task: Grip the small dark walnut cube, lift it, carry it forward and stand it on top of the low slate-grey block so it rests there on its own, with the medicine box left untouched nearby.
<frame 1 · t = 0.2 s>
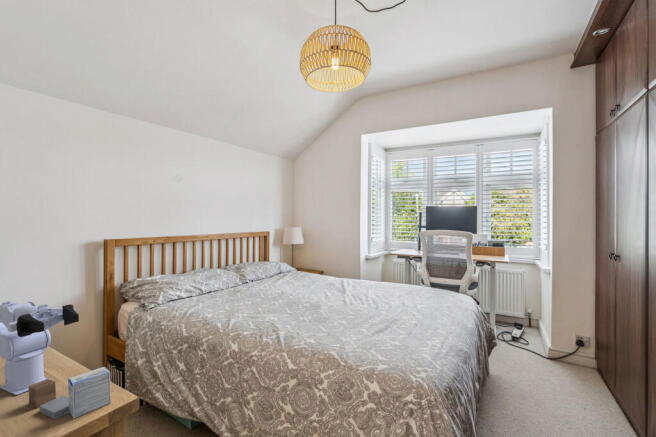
hand: (60, 322, 83), 21 cm above the table, tool horizontal, fingers open, 7 cm apart
slate block: (59, 411, 80), on the table
walnut cube: (42, 402, 83), on the table
medicine box: (90, 408, 81), on the table
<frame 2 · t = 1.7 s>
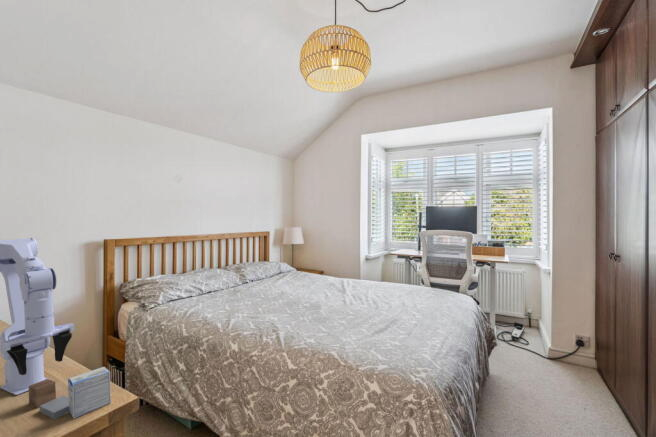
hand: (41, 367, 83), 9 cm above the table, tool pointing down, fingers open, 7 cm apart
nothing on the table moved.
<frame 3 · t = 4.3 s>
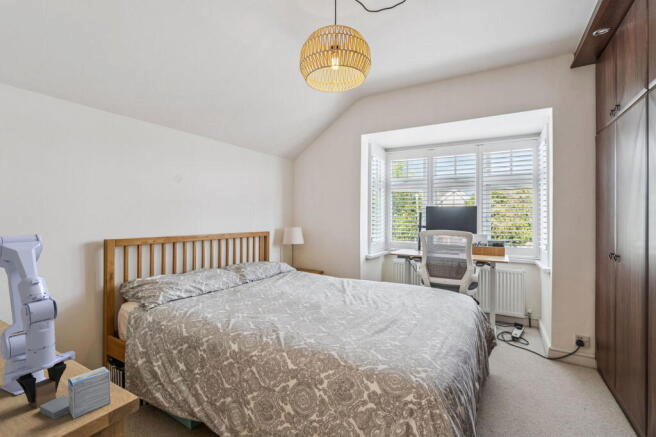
hand: (42, 397, 83), 1 cm above the table, tool pointing down, fingers closed on walnut cube, 4 cm apart
walnut cube: (42, 402, 83), on the table, touching gripper
everything else where it was.
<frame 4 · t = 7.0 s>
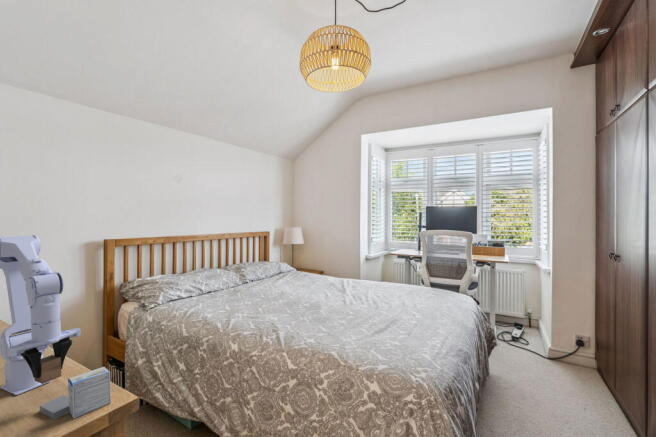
hand: (48, 372, 82), 8 cm above the table, tool pointing down, fingers closed on walnut cube, 4 cm apart
walnut cube: (48, 378, 82), point 7 cm above the table, touching gripper
everything else where it was.
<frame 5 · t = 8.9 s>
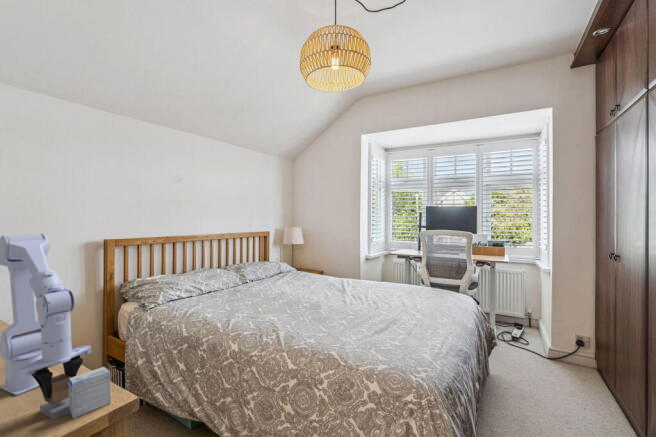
hand: (58, 392, 80), 4 cm above the table, tool pointing down, fingers closed on walnut cube, 4 cm apart
walnut cube: (58, 398, 80), point 3 cm above the table, touching gripper
everything else where it was.
when the fingers open (4 cm above the table, at t = 9.8 s): walnut cube drops 1 cm, resting on slate block.
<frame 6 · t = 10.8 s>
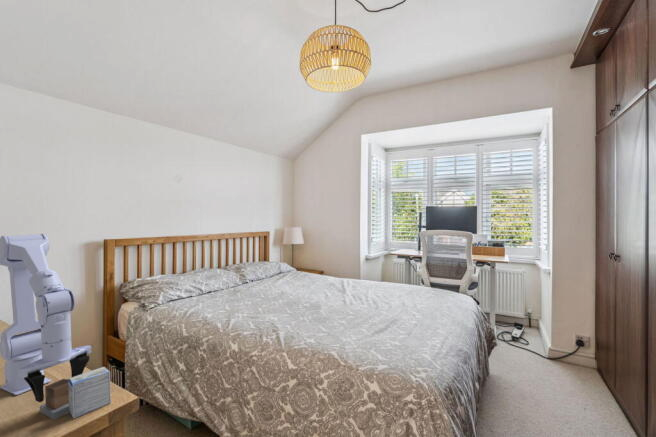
hand: (58, 392, 80), 4 cm above the table, tool pointing down, fingers open, 7 cm apart
slate block: (59, 411, 80), on the table, touching walnut cube
walnut cube: (59, 403, 80), point 1 cm above the table, touching slate block
everything else where it was.
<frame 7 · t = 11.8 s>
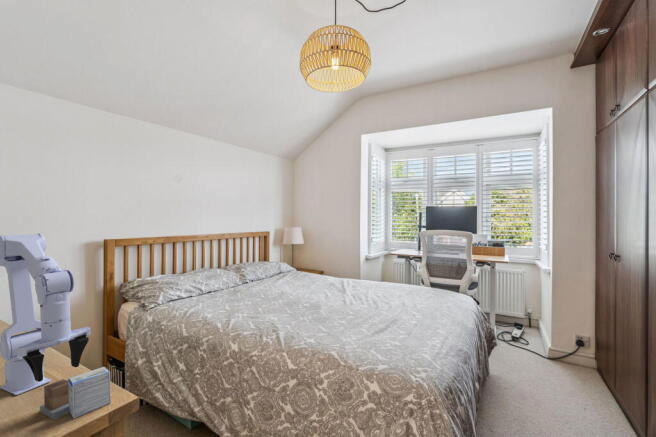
hand: (57, 373, 80), 9 cm above the table, tool pointing down, fingers open, 7 cm apart
nothing on the table moved.
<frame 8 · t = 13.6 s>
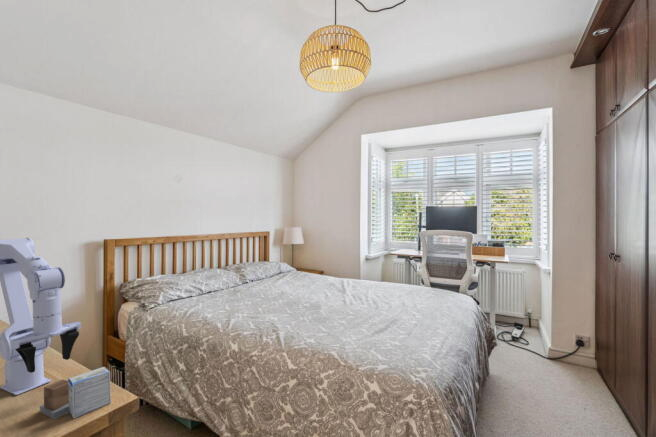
hand: (49, 364, 84), 9 cm above the table, tool pointing down, fingers open, 7 cm apart
slate block: (59, 411, 80), on the table
walnut cube: (58, 404, 80), point 2 cm above the table
everything else where it was.
at the end: walnut cube 0.1 cm off-centre on the slate block, point 2.1 cm above the slate block's base; walnut cube tilted 1°; walnut cube touching nothing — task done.
